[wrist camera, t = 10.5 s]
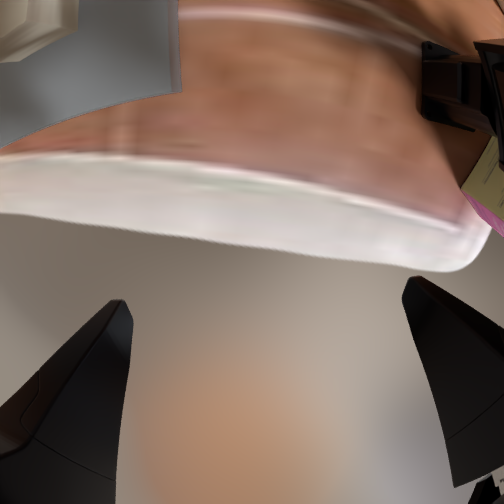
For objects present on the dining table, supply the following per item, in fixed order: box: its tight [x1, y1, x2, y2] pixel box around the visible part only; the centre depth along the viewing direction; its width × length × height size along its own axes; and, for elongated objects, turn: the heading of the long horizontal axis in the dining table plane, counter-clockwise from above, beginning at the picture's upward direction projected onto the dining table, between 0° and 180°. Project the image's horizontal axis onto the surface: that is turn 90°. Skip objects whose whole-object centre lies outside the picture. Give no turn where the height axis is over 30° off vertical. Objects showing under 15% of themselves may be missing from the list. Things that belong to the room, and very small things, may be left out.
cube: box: [0, 0, 79, 63], centre depth 5 cm, size 5×5×5 cm
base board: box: [0, 0, 182, 149], centre depth 8 cm, size 16×16×3 cm
